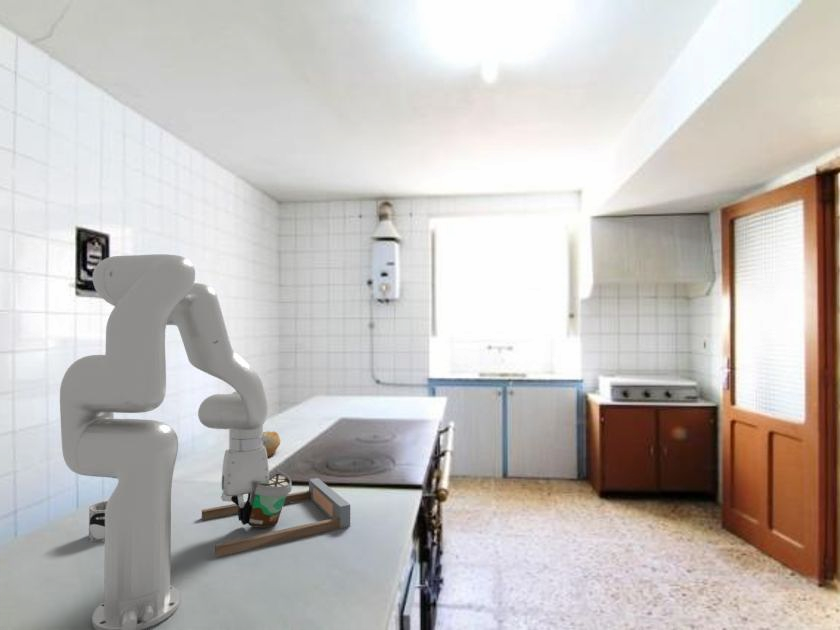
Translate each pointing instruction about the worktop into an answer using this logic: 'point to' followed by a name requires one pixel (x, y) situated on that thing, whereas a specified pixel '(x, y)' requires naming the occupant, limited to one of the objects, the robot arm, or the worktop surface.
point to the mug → (97, 521)
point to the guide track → (271, 536)
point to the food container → (270, 500)
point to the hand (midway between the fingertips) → (245, 522)
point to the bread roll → (271, 442)
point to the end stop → (329, 502)
